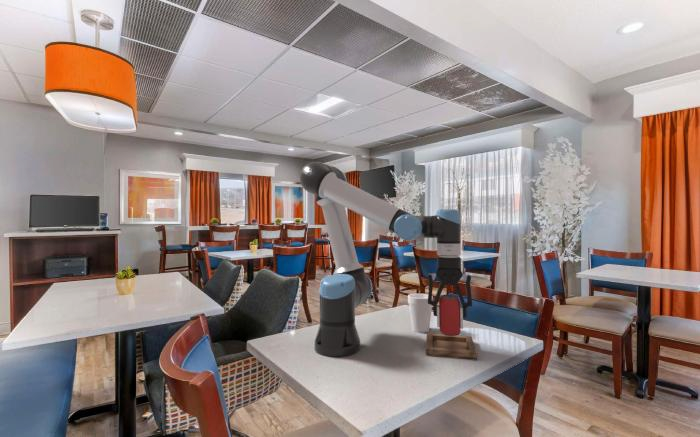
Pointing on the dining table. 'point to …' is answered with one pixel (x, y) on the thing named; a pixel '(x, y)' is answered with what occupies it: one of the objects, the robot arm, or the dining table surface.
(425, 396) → the dining table surface
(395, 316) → the dining table surface
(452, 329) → the beer can
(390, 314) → the dining table surface
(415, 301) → the foam cup
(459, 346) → the wooden tray
